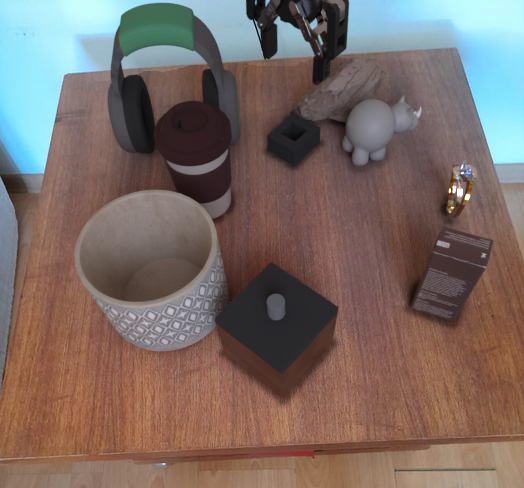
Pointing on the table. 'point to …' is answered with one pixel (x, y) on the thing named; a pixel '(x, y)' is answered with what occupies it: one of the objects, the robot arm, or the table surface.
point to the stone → (341, 91)
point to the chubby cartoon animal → (376, 128)
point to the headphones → (134, 88)
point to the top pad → (295, 128)
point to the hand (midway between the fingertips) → (294, 68)
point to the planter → (154, 268)
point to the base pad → (279, 332)
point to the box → (451, 273)
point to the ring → (460, 188)
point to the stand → (269, 374)
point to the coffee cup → (197, 153)
